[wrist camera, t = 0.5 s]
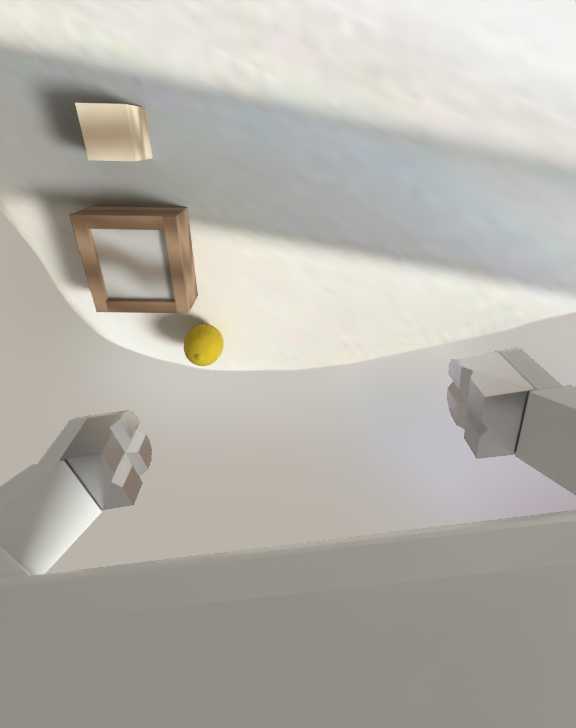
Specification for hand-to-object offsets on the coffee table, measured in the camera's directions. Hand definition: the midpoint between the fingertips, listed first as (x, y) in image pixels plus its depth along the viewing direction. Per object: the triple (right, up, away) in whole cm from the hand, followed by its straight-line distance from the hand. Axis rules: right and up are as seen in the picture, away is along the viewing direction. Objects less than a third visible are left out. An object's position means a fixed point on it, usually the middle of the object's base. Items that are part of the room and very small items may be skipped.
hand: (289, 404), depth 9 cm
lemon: (-12, +6, +47) cm, 50 cm away
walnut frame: (-19, +16, +41) cm, 48 cm away
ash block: (-19, +28, +33) cm, 48 cm away
